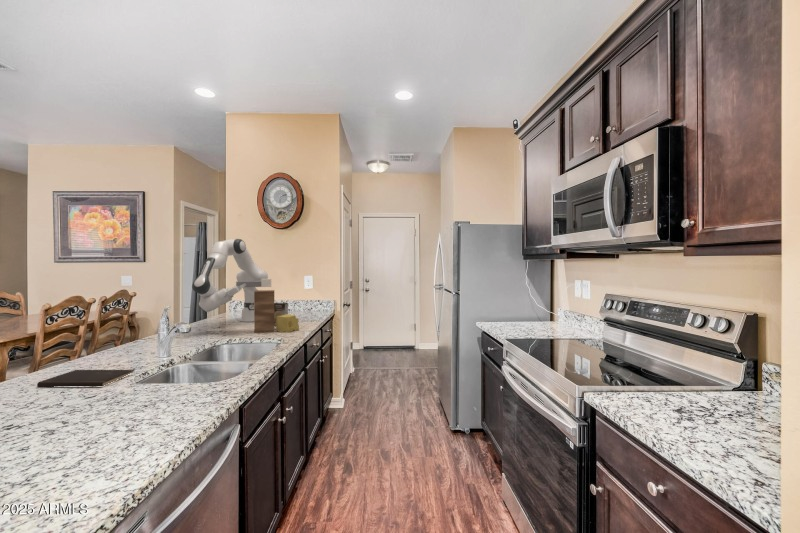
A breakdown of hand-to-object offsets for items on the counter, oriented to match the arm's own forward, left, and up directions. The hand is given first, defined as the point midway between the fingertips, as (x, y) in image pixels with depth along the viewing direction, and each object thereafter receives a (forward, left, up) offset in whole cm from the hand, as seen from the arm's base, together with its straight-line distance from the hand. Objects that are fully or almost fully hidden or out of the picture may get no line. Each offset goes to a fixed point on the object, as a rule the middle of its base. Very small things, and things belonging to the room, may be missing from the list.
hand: (246, 283), depth 242 cm
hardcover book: (+91, -49, -31) cm, 108 cm away
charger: (0, +5, -2) cm, 5 cm away
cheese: (+4, +25, -31) cm, 40 cm away
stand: (0, +11, -31) cm, 33 cm away
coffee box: (-18, +21, -31) cm, 42 cm away
